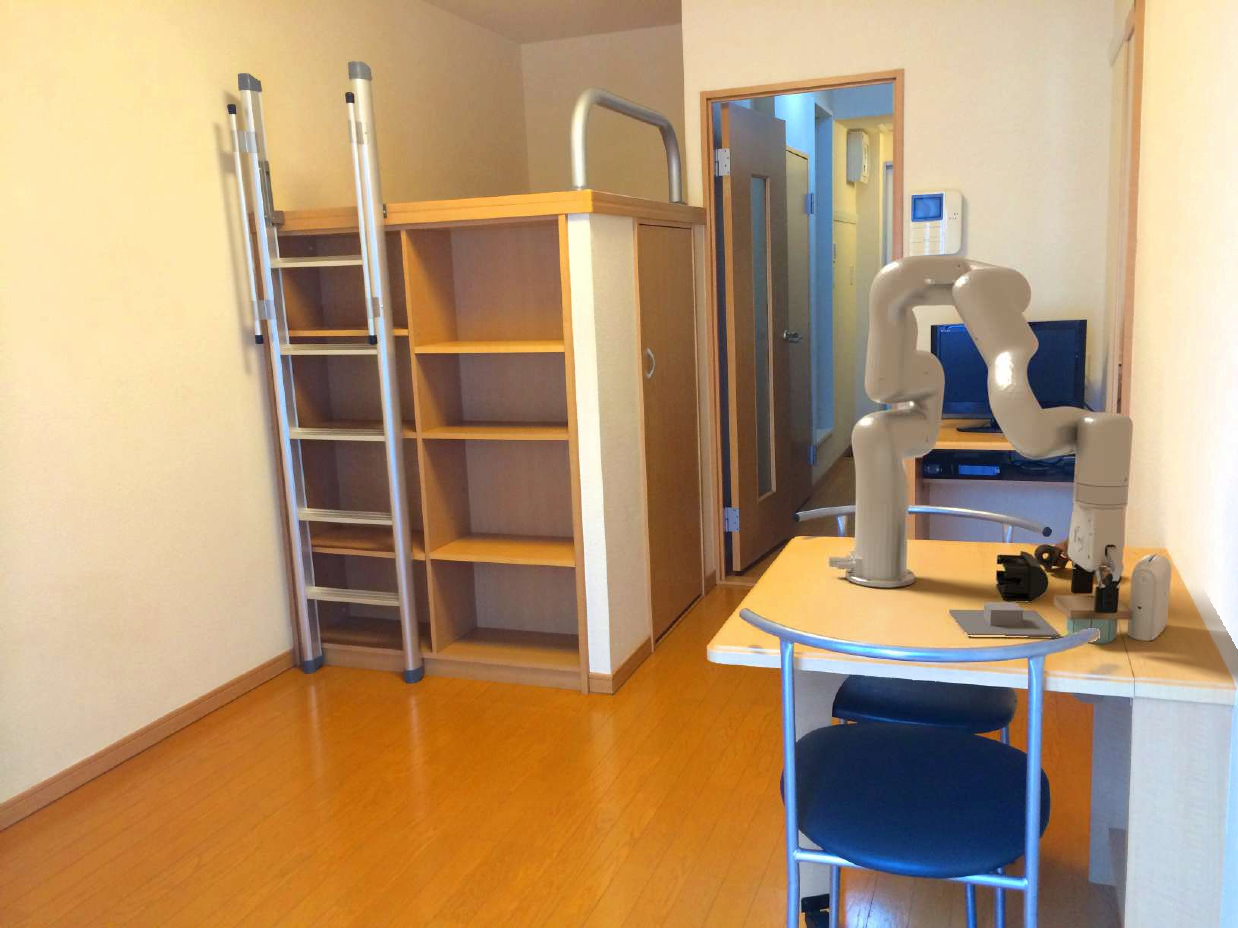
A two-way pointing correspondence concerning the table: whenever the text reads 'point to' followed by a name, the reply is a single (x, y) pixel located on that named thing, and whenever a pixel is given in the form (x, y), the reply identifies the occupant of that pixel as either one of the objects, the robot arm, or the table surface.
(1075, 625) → the ceramic bowl
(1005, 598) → the end cap
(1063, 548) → the brown piece
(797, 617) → the table surface
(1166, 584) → the photo printer
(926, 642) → the table surface
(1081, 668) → the table surface
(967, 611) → the rubber mat
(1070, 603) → the walnut board
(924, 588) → the table surface
